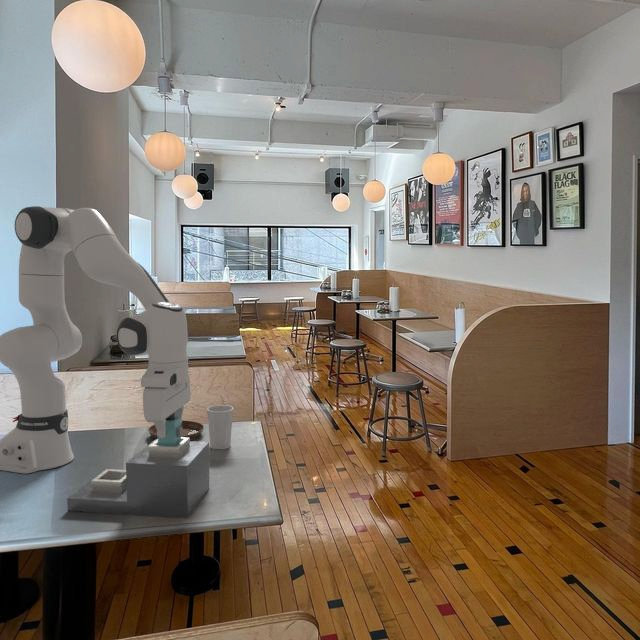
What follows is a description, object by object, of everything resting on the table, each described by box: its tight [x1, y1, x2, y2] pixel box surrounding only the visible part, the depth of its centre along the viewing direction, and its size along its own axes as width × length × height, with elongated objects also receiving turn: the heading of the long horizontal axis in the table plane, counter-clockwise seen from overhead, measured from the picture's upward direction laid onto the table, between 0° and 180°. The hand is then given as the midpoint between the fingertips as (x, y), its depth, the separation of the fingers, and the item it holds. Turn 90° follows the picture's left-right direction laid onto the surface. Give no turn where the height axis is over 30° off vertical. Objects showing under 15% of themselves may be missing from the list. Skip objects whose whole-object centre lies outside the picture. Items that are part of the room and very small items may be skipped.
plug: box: [158, 412, 183, 446], centre depth 124 cm, size 5×4×10 cm
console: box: [66, 437, 210, 519], centre depth 126 cm, size 28×16×14 cm, turn 85°
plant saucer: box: [147, 420, 205, 441], centre depth 174 cm, size 18×18×3 cm
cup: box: [206, 404, 234, 450], centre depth 164 cm, size 8×8×12 cm
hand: (170, 430), depth 124 cm, fingers open, 8 cm apart
